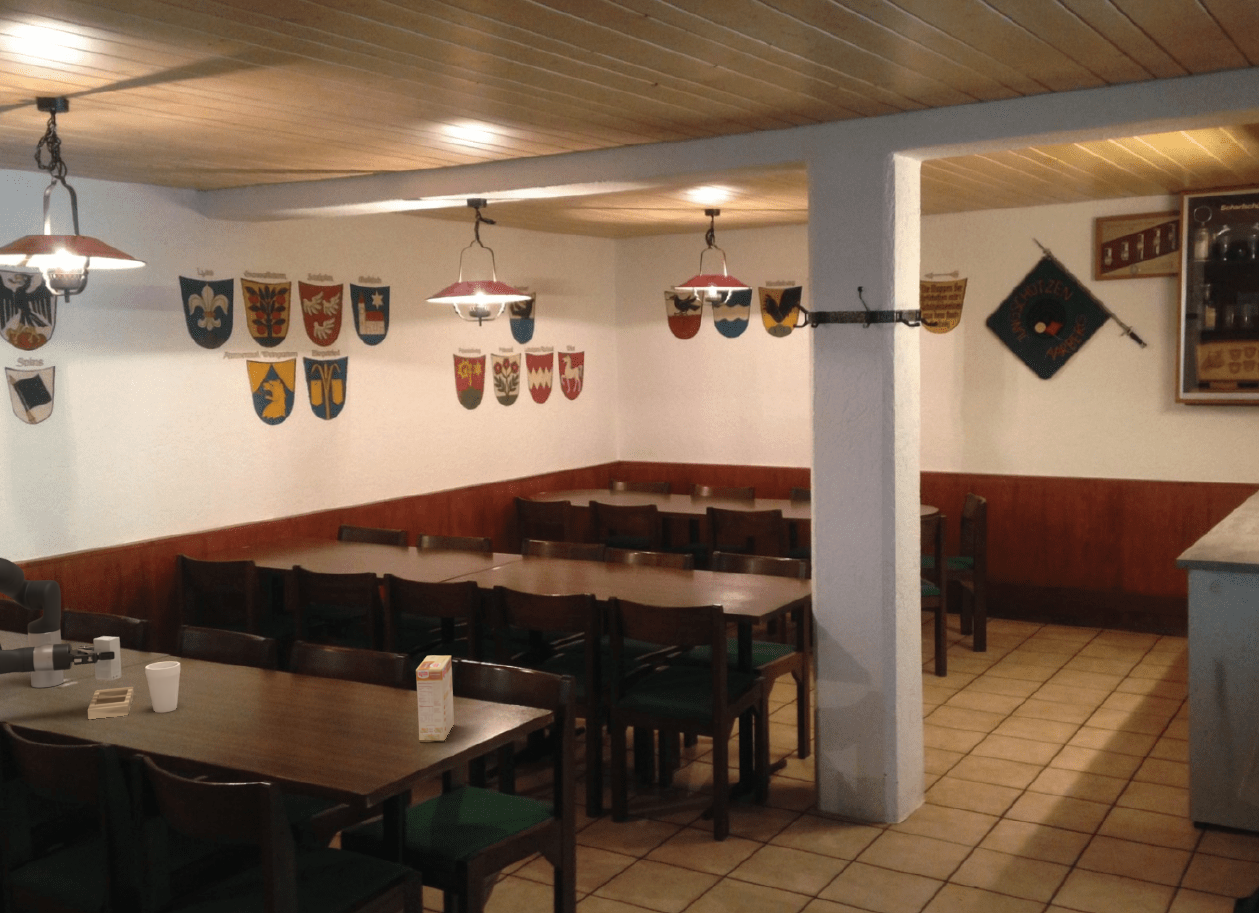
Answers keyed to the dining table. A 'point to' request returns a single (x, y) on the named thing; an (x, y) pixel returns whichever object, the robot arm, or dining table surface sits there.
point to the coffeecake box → (435, 697)
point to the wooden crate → (111, 703)
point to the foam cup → (163, 685)
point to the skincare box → (108, 667)
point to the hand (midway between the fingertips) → (115, 652)
